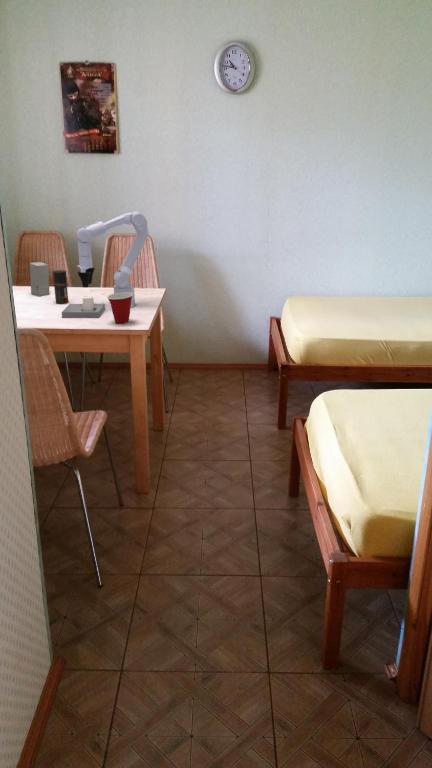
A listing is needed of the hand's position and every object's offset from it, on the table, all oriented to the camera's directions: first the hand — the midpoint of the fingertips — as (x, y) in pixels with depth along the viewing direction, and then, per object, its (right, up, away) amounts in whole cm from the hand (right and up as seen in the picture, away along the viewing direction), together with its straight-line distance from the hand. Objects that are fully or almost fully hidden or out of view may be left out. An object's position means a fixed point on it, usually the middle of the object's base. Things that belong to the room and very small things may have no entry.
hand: (87, 285), depth 284 cm
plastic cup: (+19, -19, -21) cm, 34 cm away
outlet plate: (0, -14, -7) cm, 15 cm away
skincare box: (-30, 0, +30) cm, 42 cm away
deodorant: (-15, -6, +13) cm, 21 cm away
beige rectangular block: (+3, -15, -9) cm, 18 cm away
